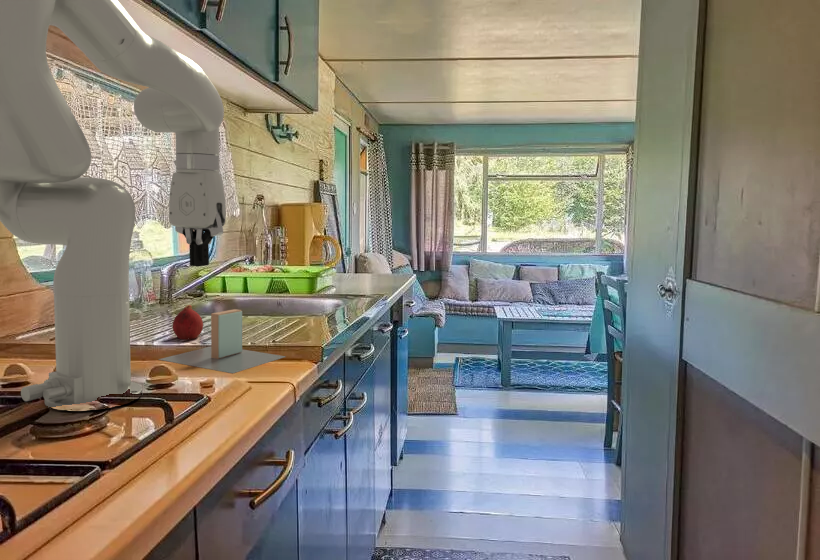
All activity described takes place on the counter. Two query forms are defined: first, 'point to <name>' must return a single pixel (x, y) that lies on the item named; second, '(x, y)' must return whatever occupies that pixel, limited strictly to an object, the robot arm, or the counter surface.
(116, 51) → the robot arm
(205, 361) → the slate board
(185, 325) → the onion
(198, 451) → the counter surface
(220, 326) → the tile
